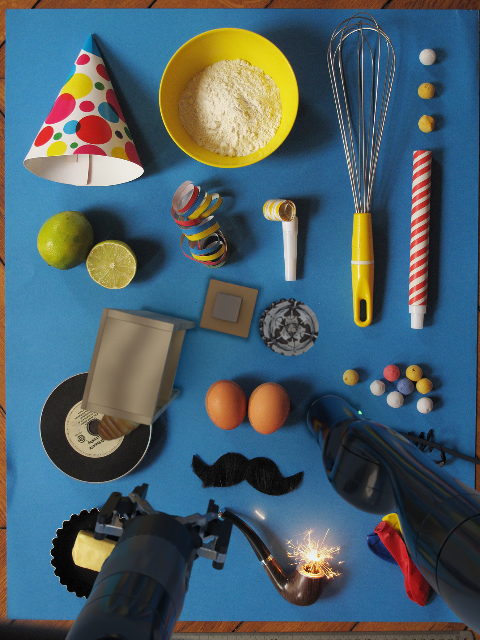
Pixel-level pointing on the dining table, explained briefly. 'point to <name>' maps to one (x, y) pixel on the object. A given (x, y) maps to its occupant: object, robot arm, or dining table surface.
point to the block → (227, 307)
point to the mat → (245, 313)
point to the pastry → (115, 427)
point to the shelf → (134, 364)
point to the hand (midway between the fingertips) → (177, 498)
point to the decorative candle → (288, 327)
